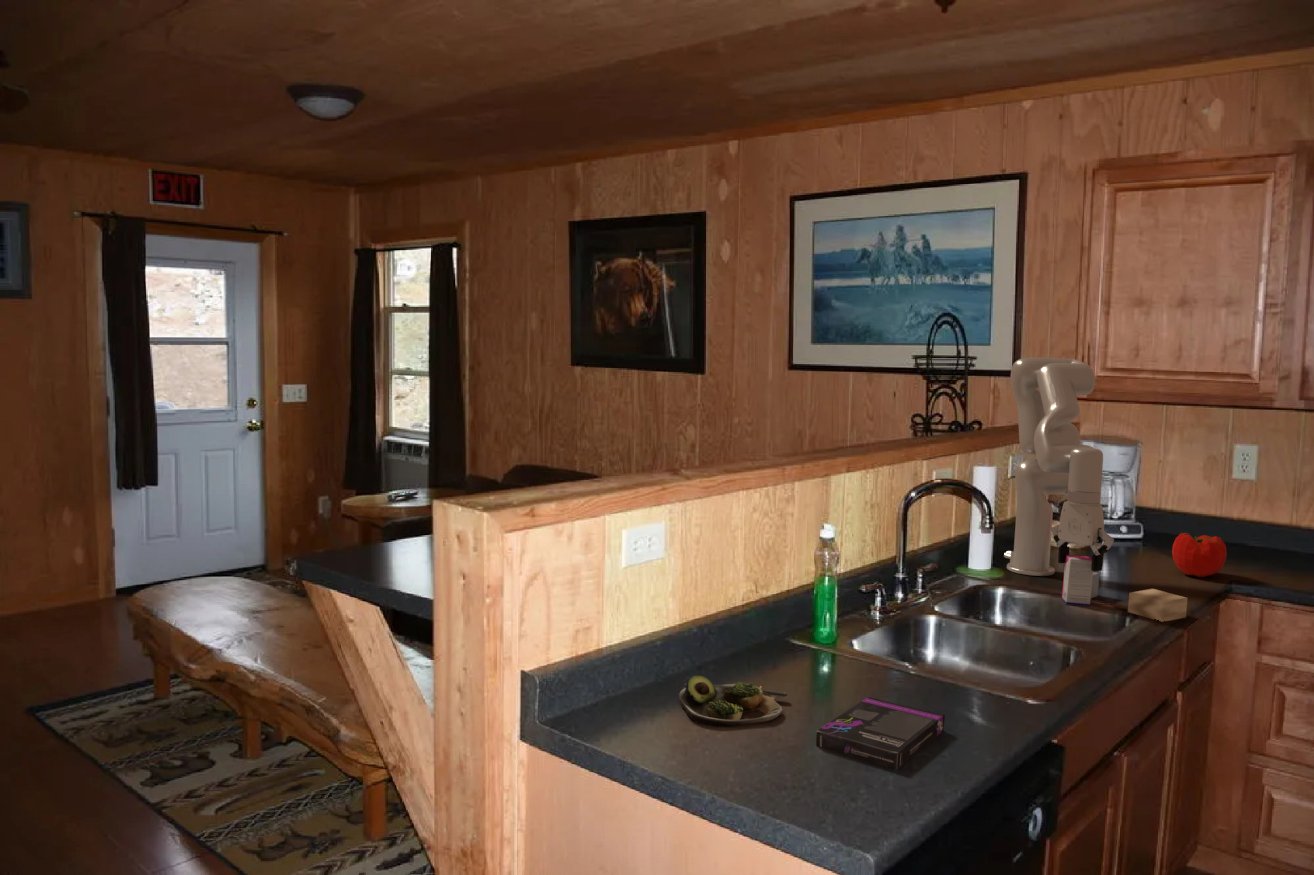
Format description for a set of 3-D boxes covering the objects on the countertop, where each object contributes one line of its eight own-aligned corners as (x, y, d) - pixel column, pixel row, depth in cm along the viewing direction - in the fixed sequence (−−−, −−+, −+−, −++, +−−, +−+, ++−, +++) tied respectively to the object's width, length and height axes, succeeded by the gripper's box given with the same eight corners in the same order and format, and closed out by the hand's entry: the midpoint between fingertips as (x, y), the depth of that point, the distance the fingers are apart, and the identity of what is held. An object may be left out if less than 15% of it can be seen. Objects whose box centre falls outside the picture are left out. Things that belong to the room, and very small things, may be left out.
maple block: (1127, 612, 241) (1129, 592, 241) (1151, 608, 246) (1152, 588, 245) (1162, 622, 233) (1163, 602, 233) (1185, 618, 238) (1187, 597, 237)
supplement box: (1091, 606, 245) (1094, 561, 244) (1065, 604, 246) (1068, 559, 245) (1085, 600, 251) (1089, 555, 249) (1060, 598, 252) (1064, 554, 251)
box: (867, 715, 174) (813, 749, 159) (868, 695, 174) (814, 727, 158) (945, 735, 166) (896, 772, 150) (946, 714, 165) (897, 750, 150)
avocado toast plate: (771, 687, 185) (772, 663, 184) (807, 724, 168) (808, 698, 167) (670, 693, 181) (670, 668, 180) (695, 732, 163) (696, 705, 163)
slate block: (1069, 594, 256) (1071, 572, 255) (1078, 591, 259) (1080, 569, 259) (1089, 599, 252) (1091, 575, 252) (1097, 595, 256) (1099, 573, 255)
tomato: (1173, 577, 277) (1177, 536, 276) (1168, 566, 290) (1171, 527, 289) (1228, 583, 272) (1231, 541, 271) (1220, 572, 285) (1224, 531, 284)
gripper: (1044, 494, 251) (1040, 561, 252) (1104, 503, 236) (1099, 575, 237) (1064, 492, 255) (1060, 559, 256) (1125, 502, 240) (1120, 572, 241)
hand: (1079, 566), depth 247 cm, fingers open, 9 cm apart
